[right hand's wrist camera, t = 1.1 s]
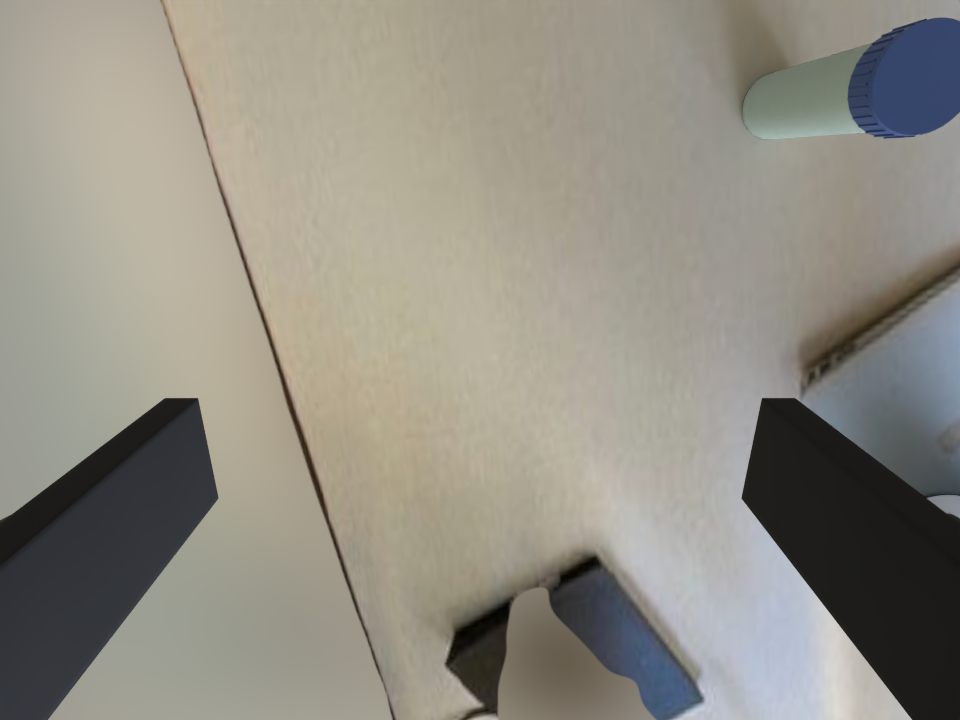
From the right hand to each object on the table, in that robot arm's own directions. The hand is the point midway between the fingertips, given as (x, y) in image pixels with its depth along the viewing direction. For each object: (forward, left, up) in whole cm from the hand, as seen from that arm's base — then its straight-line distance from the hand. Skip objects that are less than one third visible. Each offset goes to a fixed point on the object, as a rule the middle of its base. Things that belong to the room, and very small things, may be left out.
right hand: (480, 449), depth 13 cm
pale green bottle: (-11, +26, -41) cm, 49 cm away
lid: (-11, +26, -24) cm, 37 cm away
